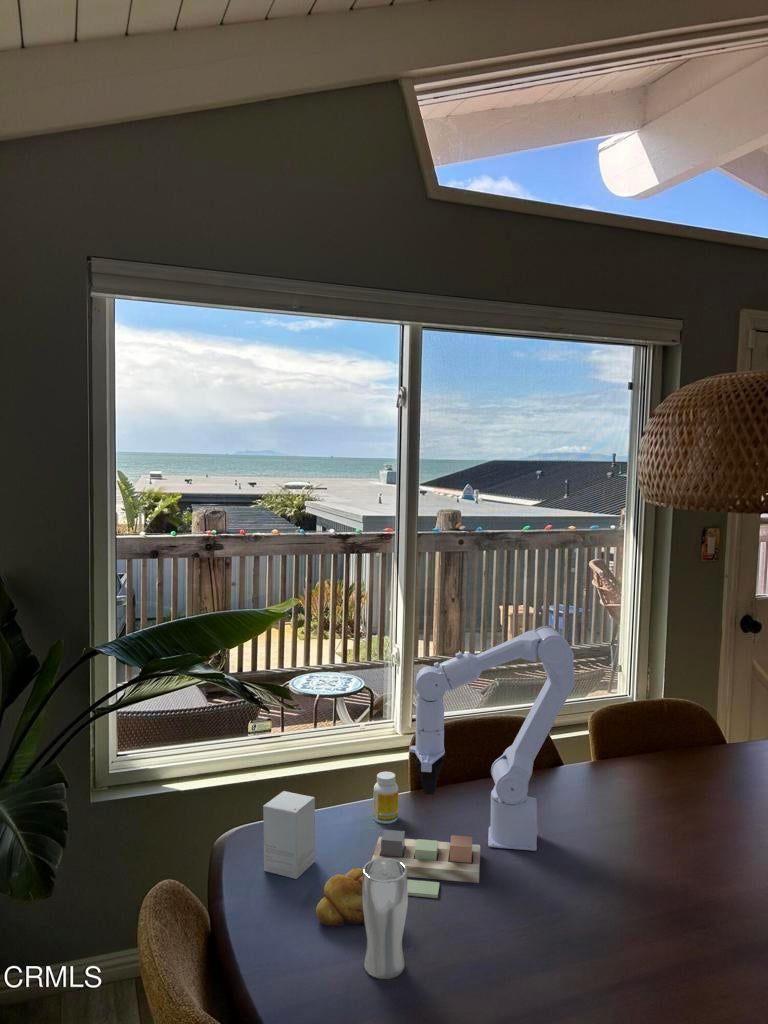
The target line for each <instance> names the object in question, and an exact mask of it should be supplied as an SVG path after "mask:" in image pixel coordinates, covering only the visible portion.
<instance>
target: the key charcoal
mask: <svg viewBox="0 0 768 1024" xmlns="http://www.w3.org/2000/svg"><path fill="white" fill-rule="evenodd" d="M405 832H406V831H405V830H394V829H393V830H392V829H390V830H389V829H383V833H382V835H381V837H382V839H381V855H382V856H386V857H397V858H403V856H402V855H403V851H404V847H405V839H406V838H405V837H406V835H405V834H406V833H405Z"/></svg>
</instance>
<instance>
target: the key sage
mask: <svg viewBox="0 0 768 1024" xmlns="http://www.w3.org/2000/svg"><path fill="white" fill-rule="evenodd" d="M416 840H417V844H416V848H415V859H421V860H432V861H438V842H439V840H431V839H423V838H421V839H419V838H417V839H416Z"/></svg>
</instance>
